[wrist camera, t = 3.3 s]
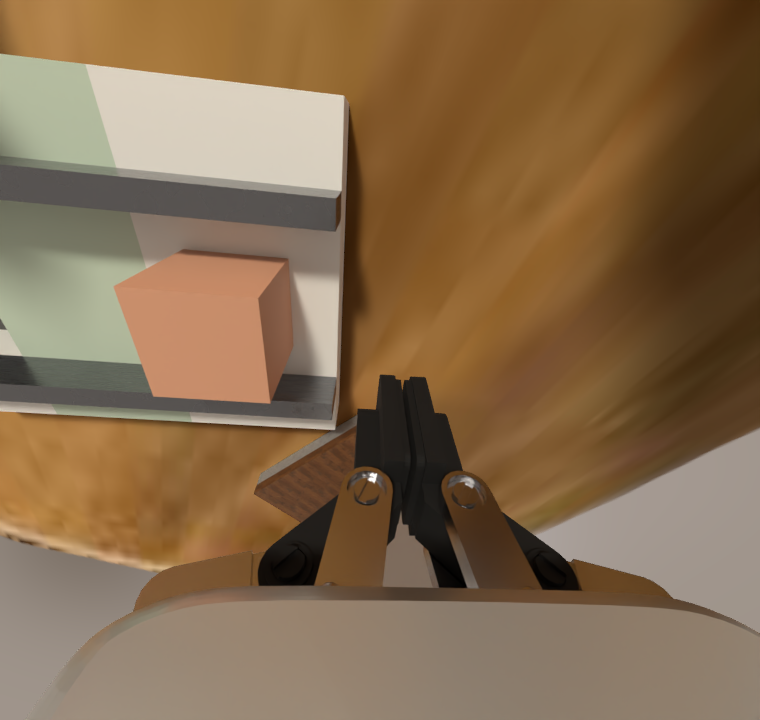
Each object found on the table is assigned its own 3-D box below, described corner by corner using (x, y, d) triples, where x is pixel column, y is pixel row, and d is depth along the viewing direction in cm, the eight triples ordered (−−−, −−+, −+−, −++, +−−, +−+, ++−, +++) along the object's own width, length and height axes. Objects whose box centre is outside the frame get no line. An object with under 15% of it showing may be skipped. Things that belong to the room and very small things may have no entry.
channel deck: (349, 104, 15) (344, 95, 13) (339, 401, 25) (335, 430, 22) (-255, 31, 14) (-399, 5, 11) (-13, 379, 23) (-59, 407, 21)
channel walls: (341, 190, 14) (336, 198, 12) (336, 392, 21) (331, 420, 19) (-297, 124, 13) (-429, 120, 11) (-95, 364, 19) (-154, 391, 17)
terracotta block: (288, 258, 16) (258, 298, 12) (293, 346, 19) (270, 403, 15) (182, 249, 16) (113, 286, 11) (203, 339, 18) (153, 396, 14)
